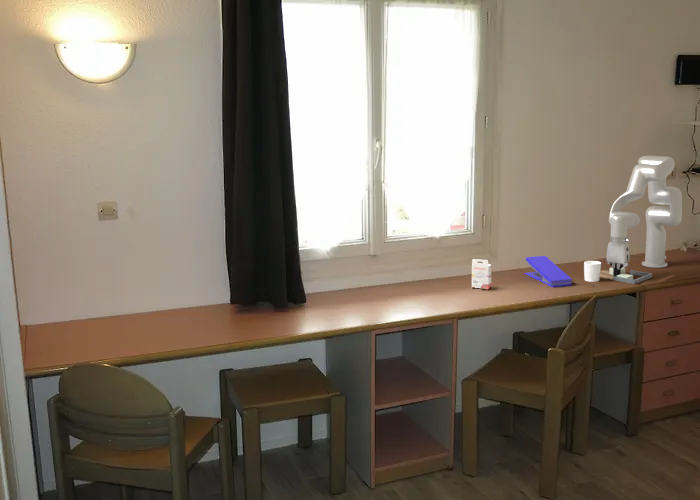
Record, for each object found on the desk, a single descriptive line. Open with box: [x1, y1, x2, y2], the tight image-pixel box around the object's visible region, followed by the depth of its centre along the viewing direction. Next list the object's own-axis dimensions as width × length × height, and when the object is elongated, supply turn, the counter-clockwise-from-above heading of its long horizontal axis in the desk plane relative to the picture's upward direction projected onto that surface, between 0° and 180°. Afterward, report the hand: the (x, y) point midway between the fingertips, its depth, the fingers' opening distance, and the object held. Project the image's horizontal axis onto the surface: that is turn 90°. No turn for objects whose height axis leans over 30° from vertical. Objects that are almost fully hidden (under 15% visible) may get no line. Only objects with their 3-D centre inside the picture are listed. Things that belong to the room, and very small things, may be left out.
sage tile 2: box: [609, 267, 626, 275], centre depth 363 cm, size 6×6×3 cm
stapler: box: [523, 255, 573, 288], centre depth 359 cm, size 12×28×10 cm, turn 16°
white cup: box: [583, 260, 602, 283], centre depth 352 cm, size 8×8×10 cm
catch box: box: [612, 269, 654, 285], centre depth 353 cm, size 18×11×3 cm, turn 132°
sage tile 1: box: [617, 273, 634, 280], centre depth 351 cm, size 6×6×3 cm
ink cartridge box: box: [471, 258, 492, 290], centre depth 347 cm, size 9×5×15 cm, turn 62°
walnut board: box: [600, 269, 629, 281], centre depth 362 cm, size 16×14×1 cm
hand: (616, 276), depth 355 cm, fingers closed
